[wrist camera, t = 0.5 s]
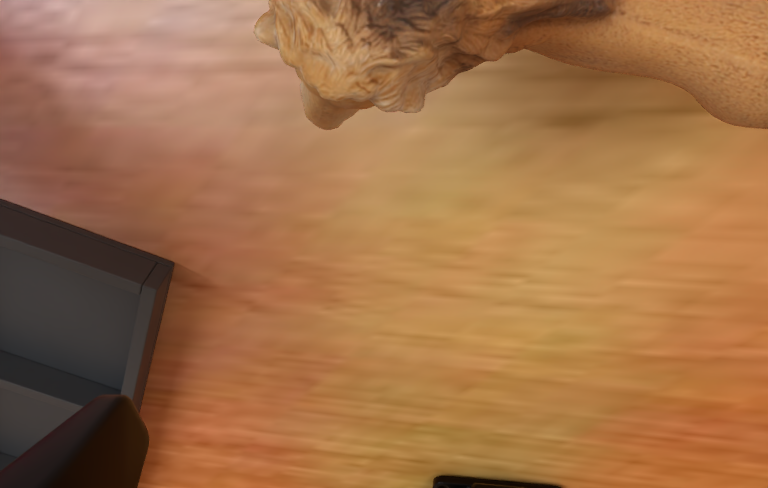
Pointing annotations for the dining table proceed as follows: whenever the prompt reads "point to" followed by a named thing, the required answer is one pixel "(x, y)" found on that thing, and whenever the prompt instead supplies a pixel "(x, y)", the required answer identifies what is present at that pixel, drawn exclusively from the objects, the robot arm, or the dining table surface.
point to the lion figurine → (517, 47)
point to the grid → (70, 323)
